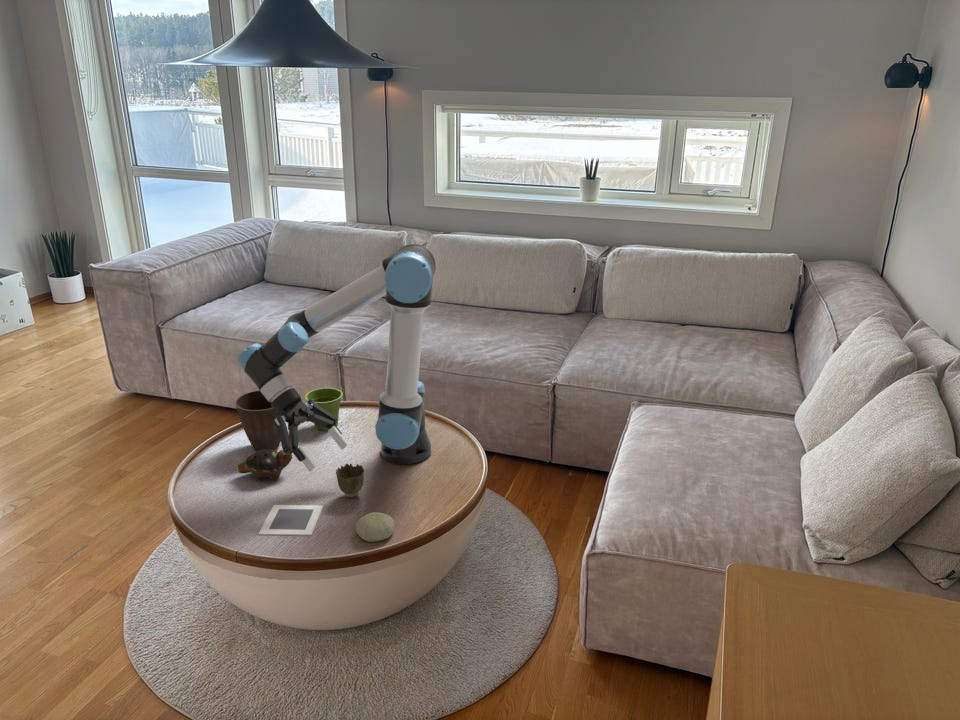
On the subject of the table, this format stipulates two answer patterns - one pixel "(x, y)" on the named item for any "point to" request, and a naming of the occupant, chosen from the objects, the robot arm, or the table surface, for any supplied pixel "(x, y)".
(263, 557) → the table surface
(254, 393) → the plant pot
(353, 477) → the cup
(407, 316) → the robot arm
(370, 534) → the sea urchin shell
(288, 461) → the decorative turtle
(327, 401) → the plant pot
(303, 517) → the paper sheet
